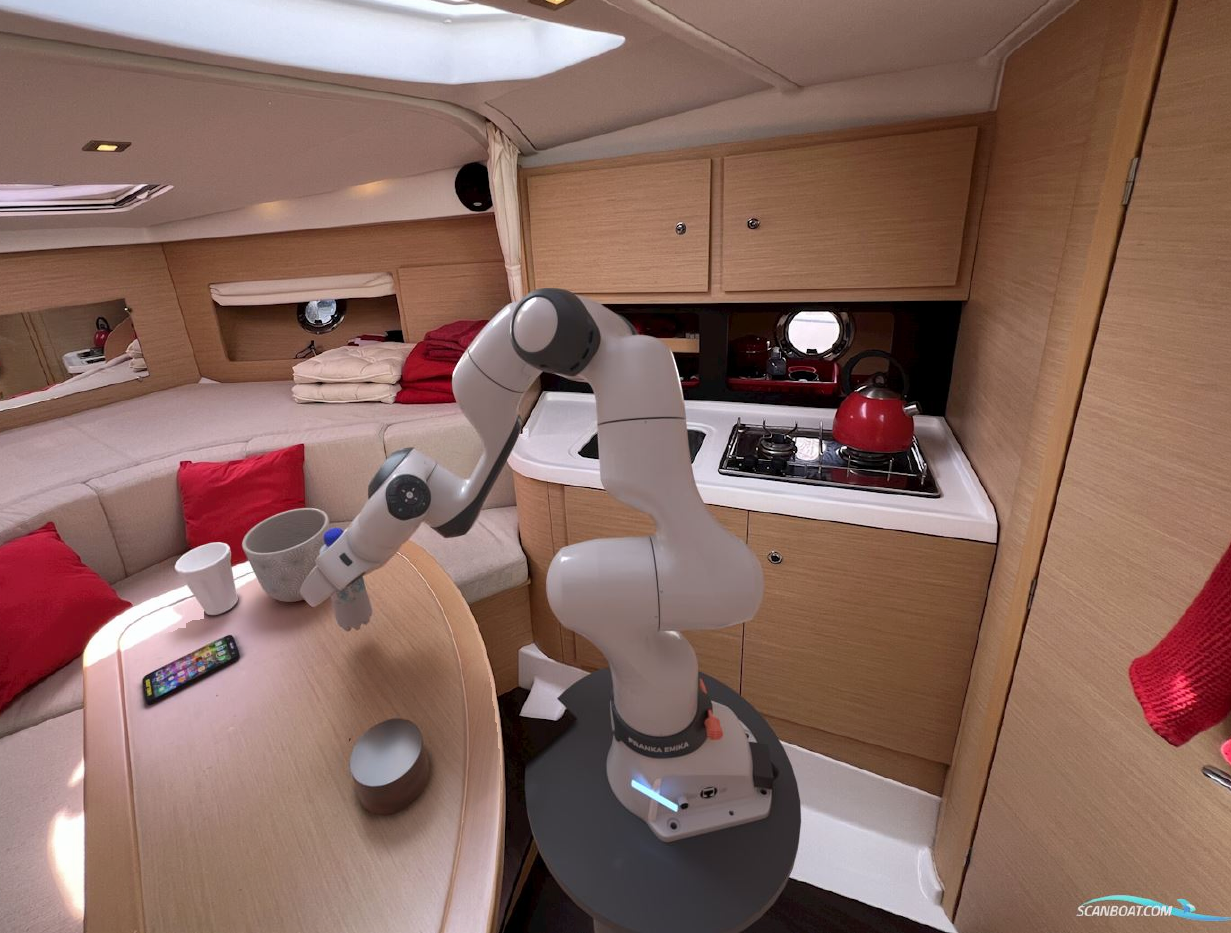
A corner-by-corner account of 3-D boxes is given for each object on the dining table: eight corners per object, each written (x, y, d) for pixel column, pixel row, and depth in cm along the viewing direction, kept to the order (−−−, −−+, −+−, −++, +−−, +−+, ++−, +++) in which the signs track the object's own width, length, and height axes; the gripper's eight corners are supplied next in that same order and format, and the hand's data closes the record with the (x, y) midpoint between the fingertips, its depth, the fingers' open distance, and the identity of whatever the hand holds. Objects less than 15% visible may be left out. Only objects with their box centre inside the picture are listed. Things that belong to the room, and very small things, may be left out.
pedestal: (436, 744, 83) (429, 716, 81) (419, 814, 74) (411, 785, 71) (373, 746, 83) (364, 718, 81) (348, 815, 74) (337, 787, 72)
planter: (359, 579, 121) (343, 522, 115) (285, 626, 109) (263, 565, 103) (321, 553, 131) (304, 499, 126) (249, 593, 120) (228, 536, 114)
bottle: (335, 618, 102) (310, 527, 95) (371, 604, 105) (350, 516, 98) (339, 640, 96) (313, 546, 89) (378, 626, 99) (355, 533, 92)
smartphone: (240, 655, 102) (144, 704, 93) (241, 658, 102) (146, 707, 93) (231, 632, 107) (141, 676, 99) (233, 636, 108) (143, 680, 99)
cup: (257, 598, 118) (239, 549, 113) (210, 629, 110) (188, 578, 105) (232, 584, 123) (214, 537, 118) (186, 613, 115) (164, 563, 110)
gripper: (401, 496, 98) (373, 530, 106) (307, 563, 81) (282, 598, 89) (424, 522, 98) (394, 554, 106) (335, 594, 81) (307, 626, 89)
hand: (342, 575), depth 97 cm, fingers closed on bottle, 6 cm apart
